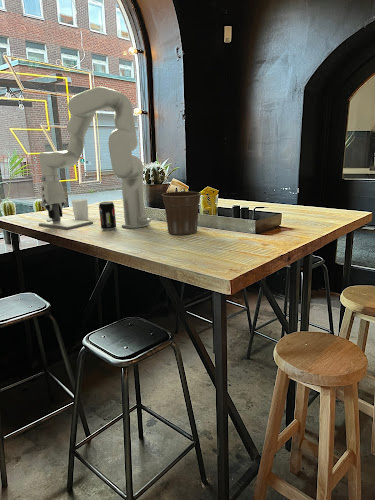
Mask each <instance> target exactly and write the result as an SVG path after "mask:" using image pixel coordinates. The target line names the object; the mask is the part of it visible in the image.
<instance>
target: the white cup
mask: <svg viewBox="0 0 375 500" xmlns="http://www.w3.org/2000/svg"><path fill="white" fill-rule="evenodd" d="M71 205H72V212H73V215H74V219H75V220H83V221H88V219H89V202H88V199H87V198H79V199H73V200H71Z"/></svg>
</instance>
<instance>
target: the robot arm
mask: <svg viewBox="0 0 375 500" xmlns="http://www.w3.org/2000/svg"><path fill="white" fill-rule="evenodd" d="M67 108H68V111H69V113H70V114H71V116H70V118H69V121H68V122H67V124H66V128H65V129H66V131H67V132H68V134H69V137H70V138H69V143H68V146H67V148H66V149H65V150H59V151H46V152H45V151H44V152H39V154H38V160H39V165H40V166H39V167H40V175H41V177H40V178H39V180H40V181H42V182H41V184H40V185H41V187H40V189H41V190H40V192H41V202H40V206H41V207H43V208H44V209H46V210H47V214H48V218H49V219H54V211H53V210H52V204H56V203H58V204H59V211H60V218H63V209H64V205H65V204H66V203H67V202H68V201H67V199H66V195H65V190H64V186H63V184H62V181H60V175H59V169H64V168H65V169H66V168H72V167H74V166H75V165H76V164H77V163H78V162H79V160H80V158H81V156H82V154H83V152H84V149H85V136H86V134H87V132H88V130H89V129H90V126H91V123H92V121H93V120H94V117H95V115H96V113H97V111H99V110H107V111H112V112H114V117H113V122H114V127H115V130H112V131H111V133H110V134H109V137H108V141H107V143H108V149H109V150H108V151H109V156H110V163H111V168H112V171H113V173H114V175H115V176H116V177H117V178H119V179H121V192H122V193H121V194H122V203H123V205H122V206H123V215H124V216H123V218H124V222H122V223H121V227H122V228H125V229H137V228H138V229H140V228H144V227H148V226H149V225H150V222H151V221H152V219H151V218H148V216H147V215H146V211H145V194H144V165H143V162H142V160H141V159H140V158H139V157H138V156H136V155H133V153H132V151H135V150H136V149H137V147H138V136H137V130H136V129H137V128H136V123H135V122H136V121H135V116H134V109H133V104H132V103H131V101H130V99H129V97H128V96H127V95H125V94H124V93H122V92H120V91H118V90H115V89H113V88H108V87H105V86H96V87H93V88H91V89H88V90H84V91H83V92H79V93H77V94H75V95H73V96H72V97H70V98H69V101H68V104H67Z"/></svg>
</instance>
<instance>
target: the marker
mask: <svg viewBox="0 0 375 500" xmlns="http://www.w3.org/2000/svg"><path fill="white" fill-rule="evenodd" d="M52 210H53V211H54V219H52V221H53V223H61V219H62V217H60V211H59V204H58V203H56V204H52Z"/></svg>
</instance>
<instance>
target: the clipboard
mask: <svg viewBox="0 0 375 500" xmlns="http://www.w3.org/2000/svg"><path fill="white" fill-rule="evenodd" d="M93 224H94V223H93V221H90V220H75V218H73V219H72V218H67V217H66V218H63V217H62V218H61V223H53V221H52V219H51V218H49V219H46V220H45V222H39V223H38V226H40V227H46V228H52V229H59V230H67V231H68V230H73V229H77V228H80V227H86V226H89V225H93Z"/></svg>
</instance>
